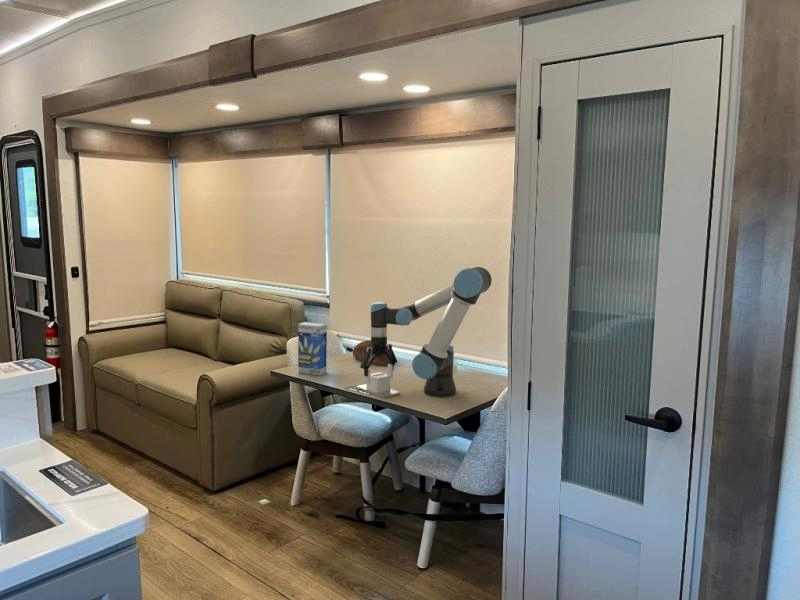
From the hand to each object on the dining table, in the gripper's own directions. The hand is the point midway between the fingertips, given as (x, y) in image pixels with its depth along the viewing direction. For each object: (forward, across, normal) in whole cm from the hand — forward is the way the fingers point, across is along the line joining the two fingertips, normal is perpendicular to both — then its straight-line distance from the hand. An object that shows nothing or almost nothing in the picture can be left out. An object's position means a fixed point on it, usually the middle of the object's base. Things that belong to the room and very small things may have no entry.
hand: (379, 380), depth 281 cm
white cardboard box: (+4, 0, 0) cm, 4 cm away
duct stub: (+5, 0, 0) cm, 5 cm away
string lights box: (+5, +6, -48) cm, 48 cm away
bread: (+5, -35, -50) cm, 61 cm away
